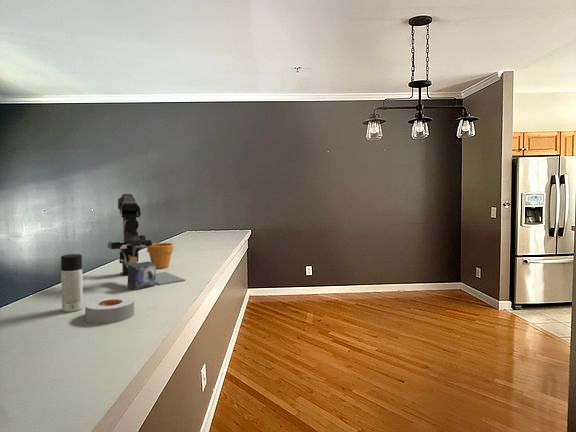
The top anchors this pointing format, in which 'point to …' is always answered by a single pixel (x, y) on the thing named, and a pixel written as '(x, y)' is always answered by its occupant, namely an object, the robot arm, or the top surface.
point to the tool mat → (166, 278)
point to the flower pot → (160, 254)
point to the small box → (141, 275)
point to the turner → (130, 260)
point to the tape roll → (109, 310)
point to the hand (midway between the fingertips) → (130, 261)
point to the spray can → (71, 282)
